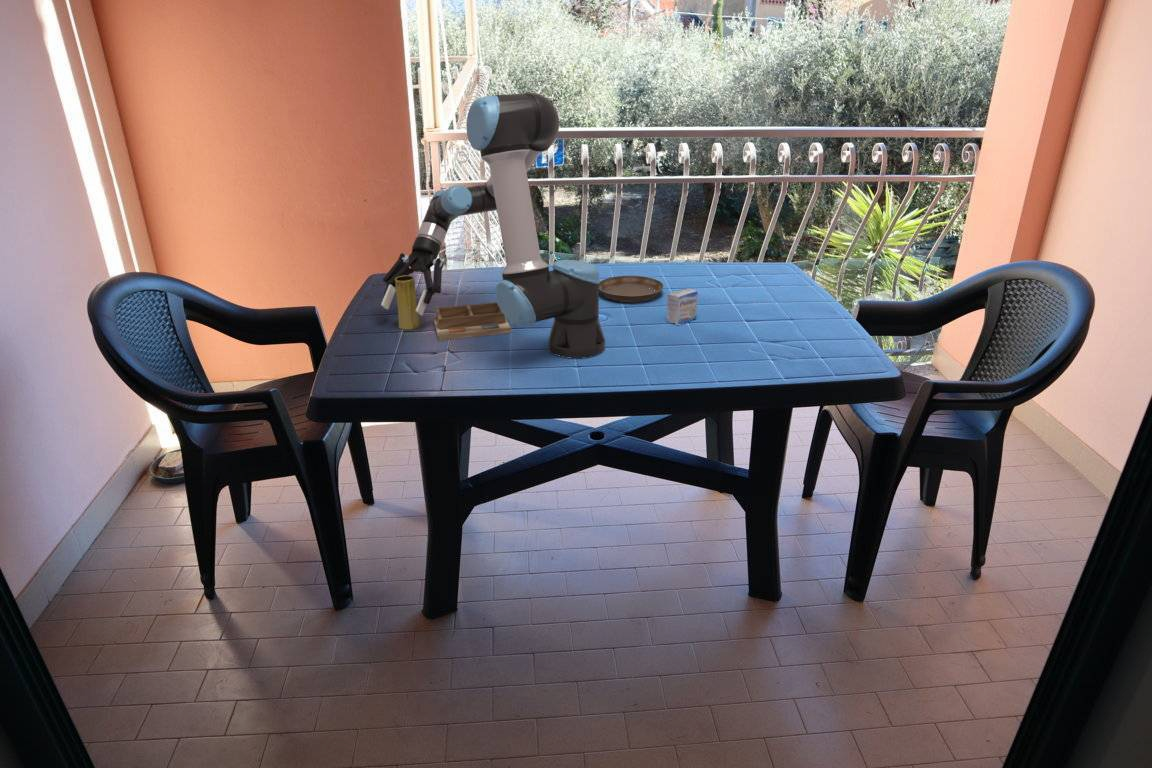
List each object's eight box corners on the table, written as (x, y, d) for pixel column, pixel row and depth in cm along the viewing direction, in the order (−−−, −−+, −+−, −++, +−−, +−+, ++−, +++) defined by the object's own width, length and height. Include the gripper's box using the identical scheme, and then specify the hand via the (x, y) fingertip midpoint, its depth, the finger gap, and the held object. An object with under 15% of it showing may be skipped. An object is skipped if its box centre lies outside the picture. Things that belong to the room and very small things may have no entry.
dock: (511, 332, 218) (510, 317, 216) (438, 340, 214) (437, 324, 212) (502, 315, 230) (501, 301, 228) (434, 322, 226) (432, 307, 224)
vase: (421, 321, 226) (417, 274, 220) (418, 329, 221) (413, 281, 215) (400, 322, 226) (395, 274, 220) (397, 330, 221) (391, 281, 215)
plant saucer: (597, 284, 257) (597, 274, 255) (661, 284, 256) (661, 274, 254) (596, 306, 238) (597, 295, 237) (665, 306, 237) (665, 295, 236)
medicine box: (677, 326, 222) (678, 297, 218) (666, 321, 225) (667, 293, 221) (696, 319, 226) (698, 291, 223) (685, 315, 229) (686, 287, 226)
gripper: (469, 253, 223) (442, 322, 218) (402, 244, 233) (375, 310, 227) (457, 239, 217) (430, 310, 211) (388, 230, 226) (360, 298, 220)
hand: (401, 310), depth 219 cm, fingers open, 11 cm apart
